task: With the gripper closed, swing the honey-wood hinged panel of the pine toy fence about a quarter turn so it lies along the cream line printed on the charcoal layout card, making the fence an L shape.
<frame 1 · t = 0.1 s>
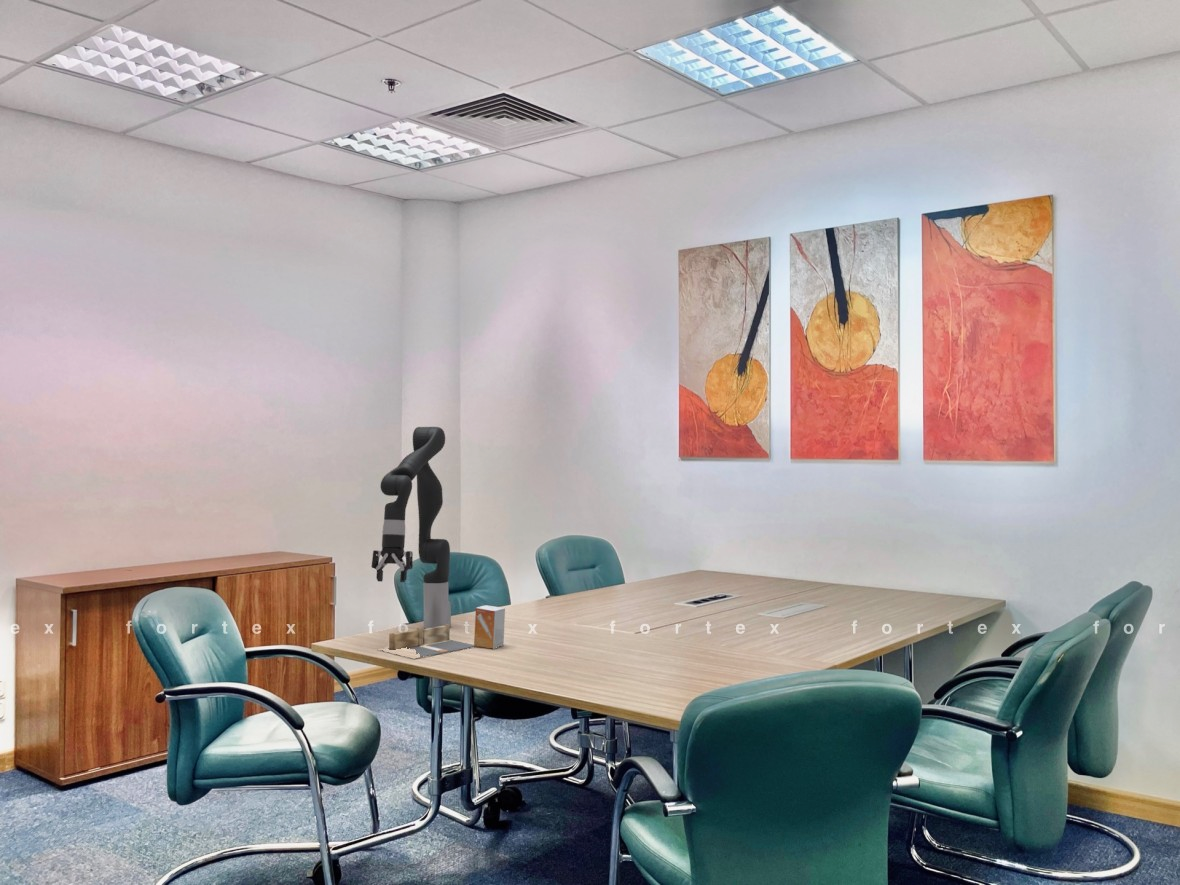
hand: (391, 581, 329), 22 cm above the table, tool pointing down, fingers open, 8 cm apart
layout card: (427, 648, 327), on the table
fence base: (420, 646, 330), resting on layout card
small box: (488, 646, 330), on the table, touching layout card
fence gate: (403, 639, 325), point 3 cm above the table, hinge at 0.0°
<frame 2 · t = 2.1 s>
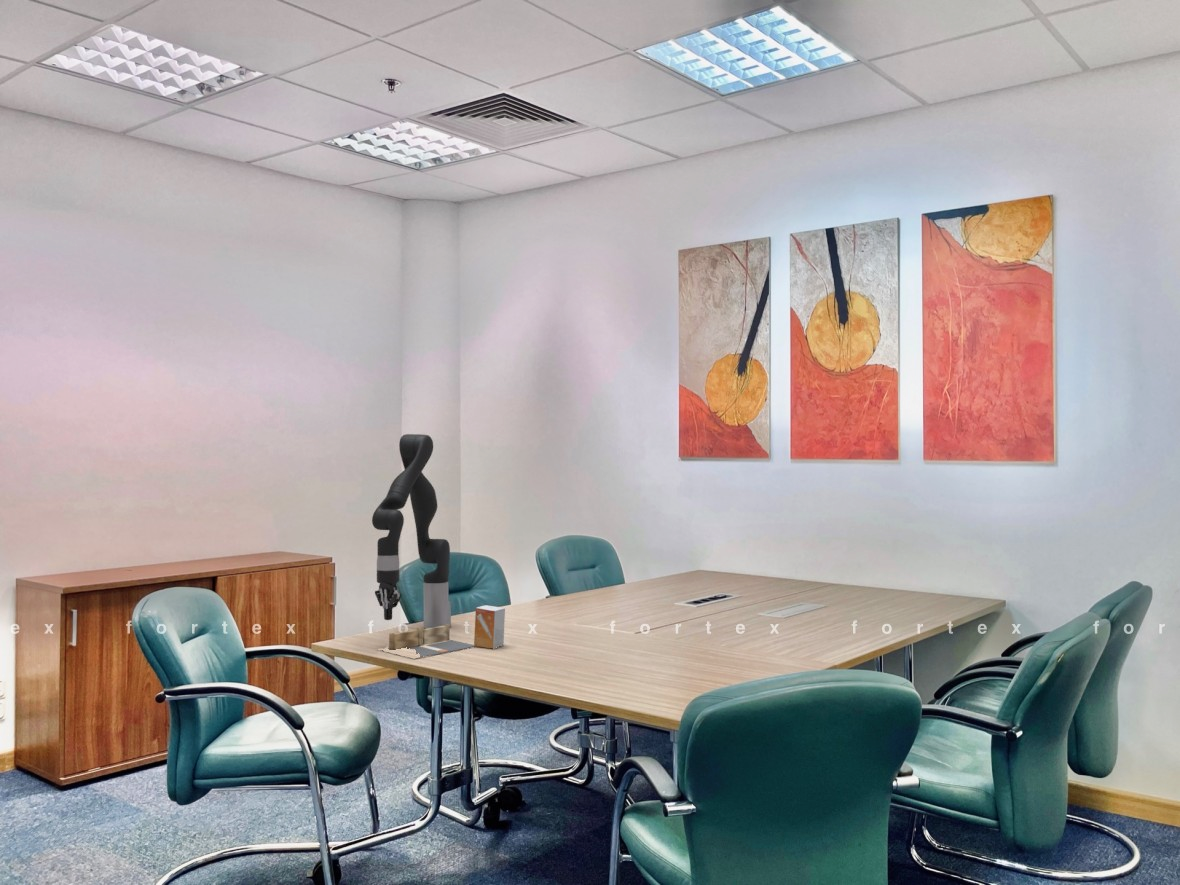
hand: (388, 619, 329), 9 cm above the table, tool pointing down, fingers closed
nothing on the table moved.
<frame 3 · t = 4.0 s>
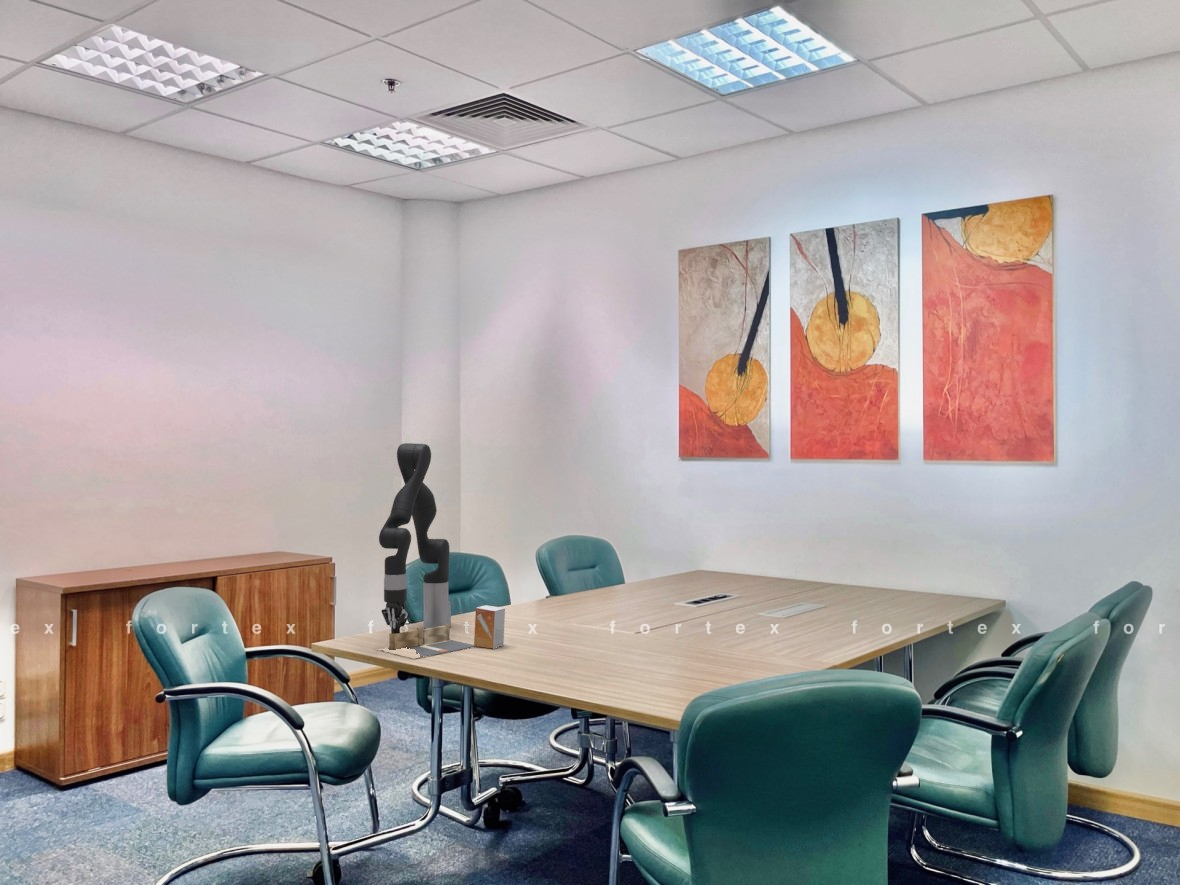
hand: (395, 638, 326), 4 cm above the table, tool pointing down, fingers closed
fence gate: (403, 639, 325), point 3 cm above the table, hinge at 0.2°, touching gripper
everything else where it was.
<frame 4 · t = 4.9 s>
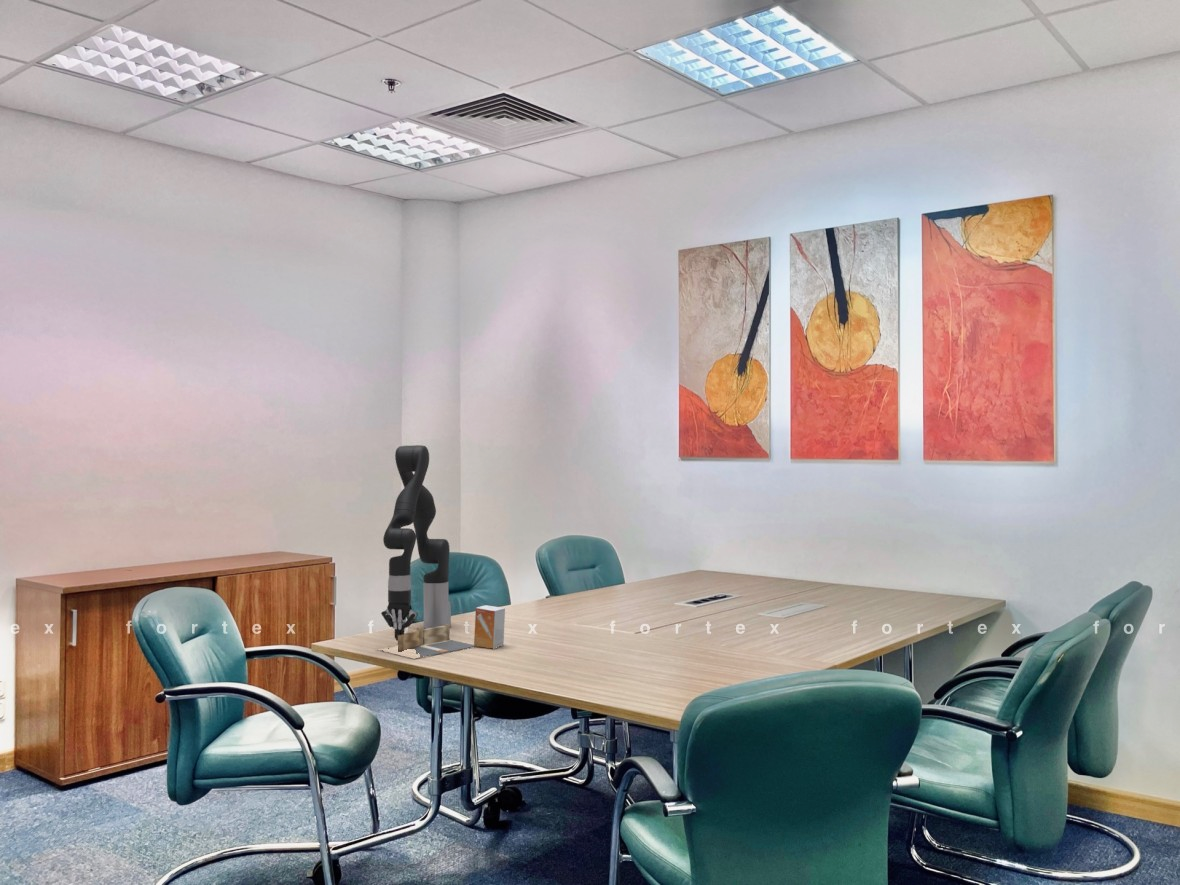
hand: (399, 640, 324), 4 cm above the table, tool pointing down, fingers closed
fence gate: (408, 640, 324), point 3 cm above the table, hinge at 20.0°, touching gripper
everything else where it was.
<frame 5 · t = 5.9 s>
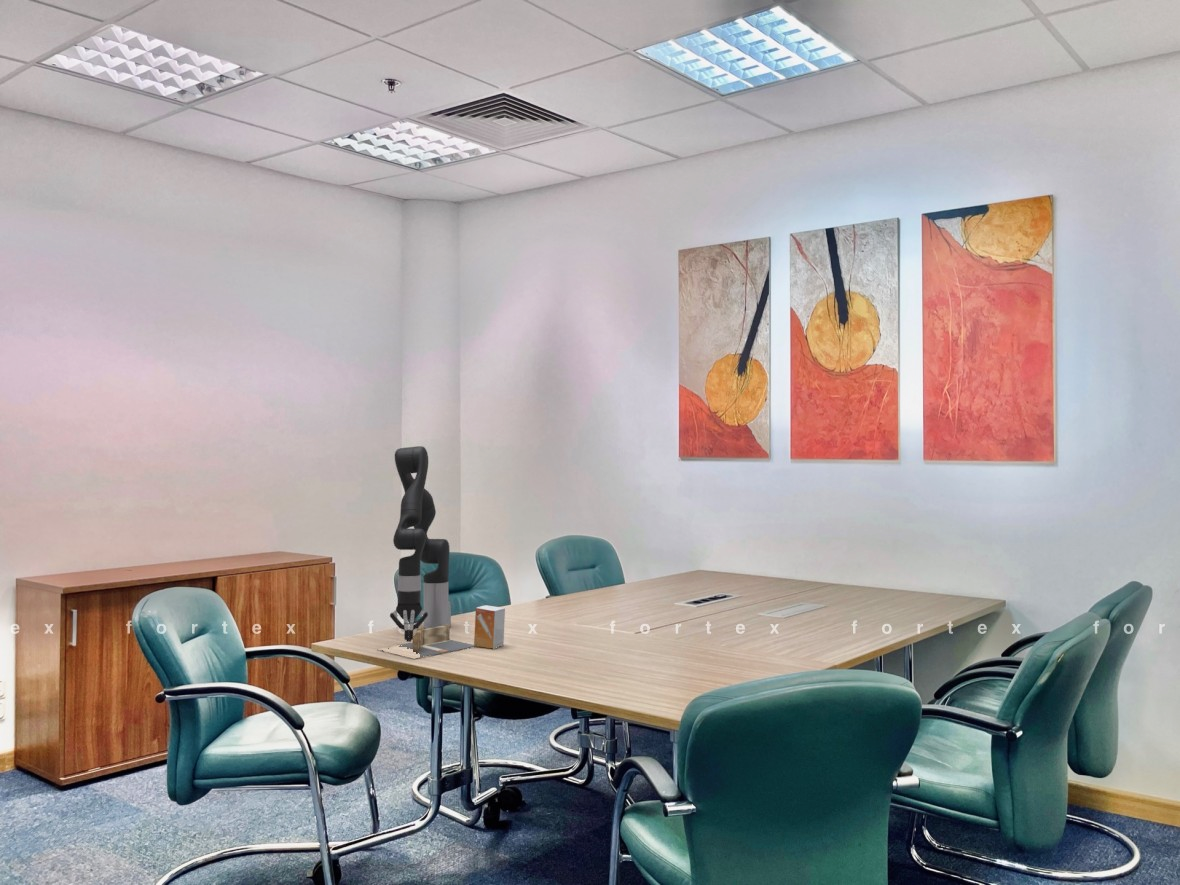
hand: (408, 641, 322), 4 cm above the table, tool pointing down, fingers closed
fence gate: (417, 640, 323), point 3 cm above the table, hinge at 46.5°, touching gripper
everything else where it was.
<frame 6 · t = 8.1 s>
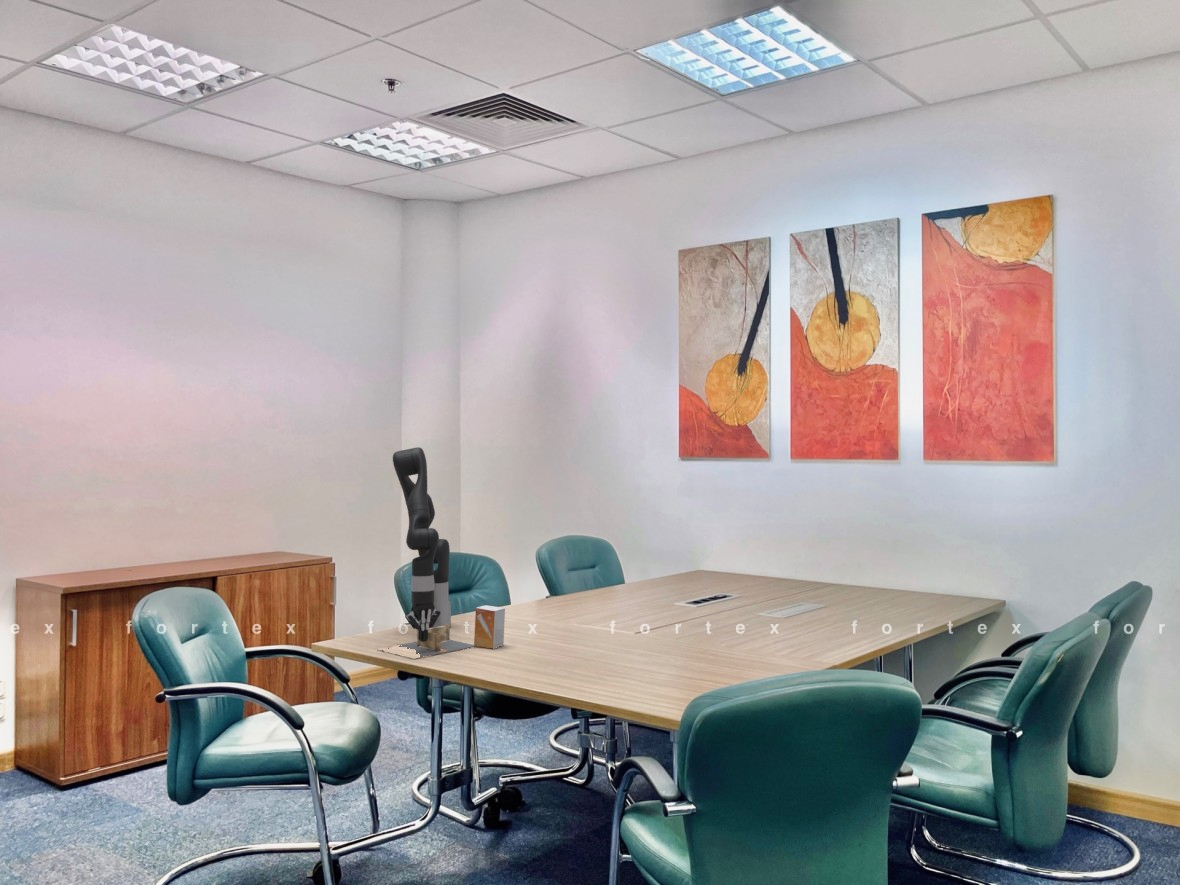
hand: (423, 641, 321), 4 cm above the table, tool pointing down, fingers closed
fence gate: (430, 639, 325), point 3 cm above the table, hinge at 84.7°
everything else where it was.
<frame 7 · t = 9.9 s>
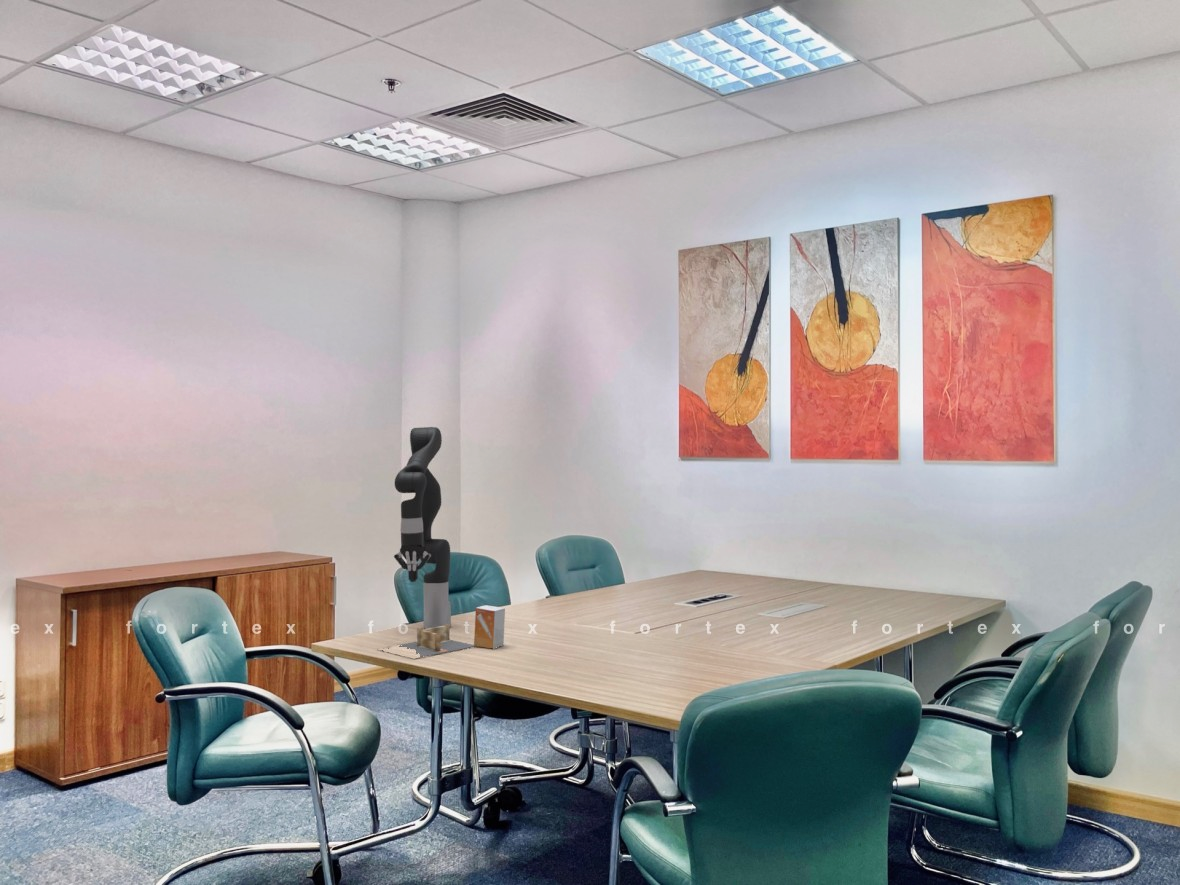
hand: (413, 581, 331), 22 cm above the table, tool pointing down, fingers closed
nothing on the table moved.
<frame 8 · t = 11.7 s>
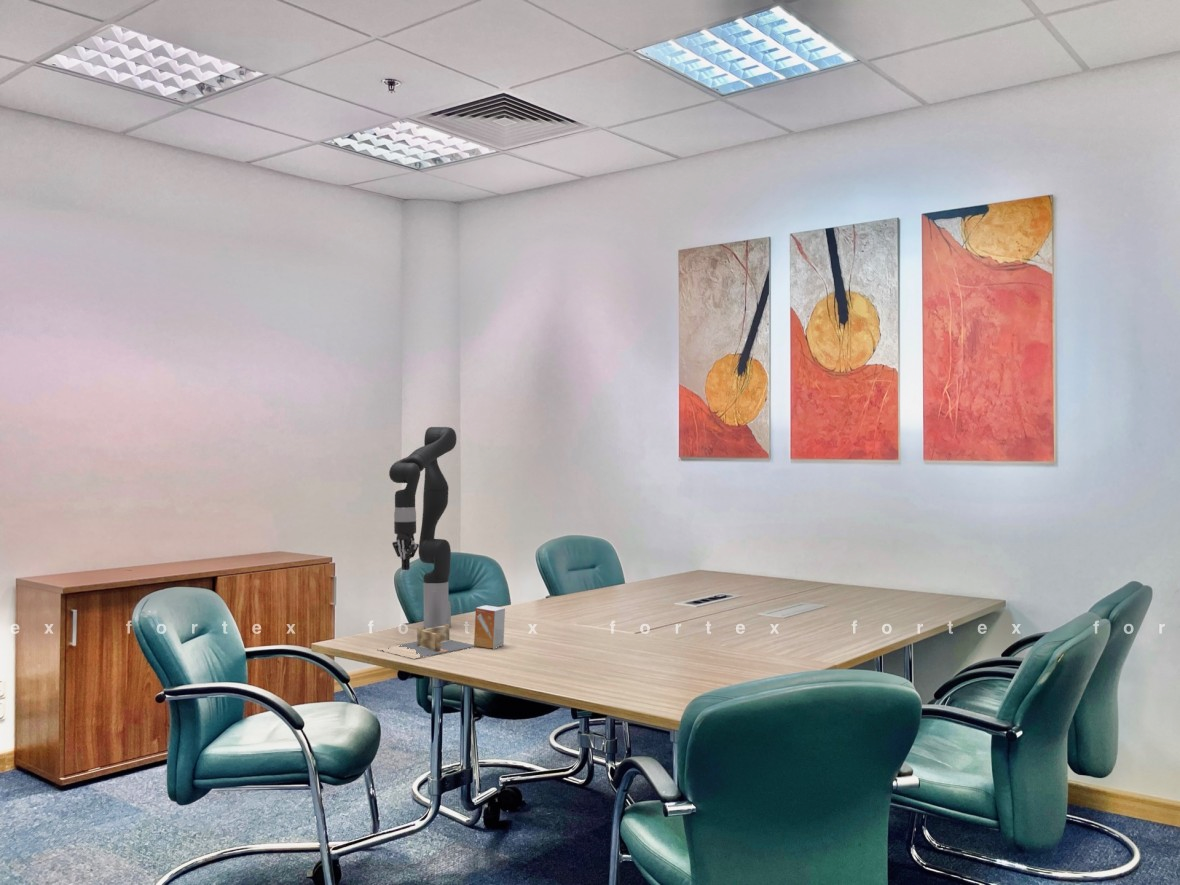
hand: (405, 569, 339), 25 cm above the table, tool pointing down, fingers closed
nothing on the table moved.
at the end: fence gate at +85° (first picture: +0°); small box moved 0.0 cm from its start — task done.
